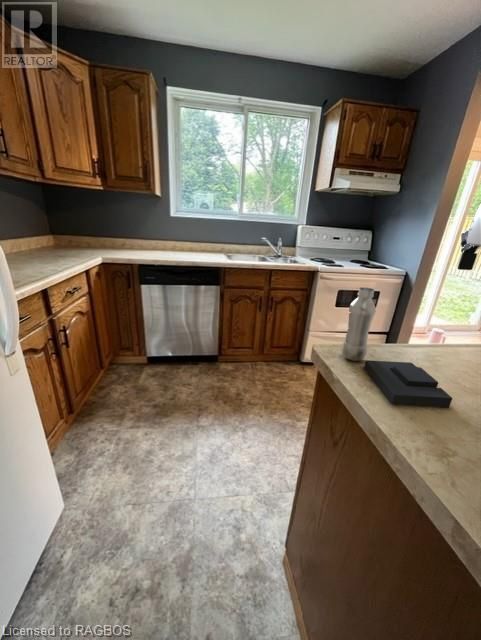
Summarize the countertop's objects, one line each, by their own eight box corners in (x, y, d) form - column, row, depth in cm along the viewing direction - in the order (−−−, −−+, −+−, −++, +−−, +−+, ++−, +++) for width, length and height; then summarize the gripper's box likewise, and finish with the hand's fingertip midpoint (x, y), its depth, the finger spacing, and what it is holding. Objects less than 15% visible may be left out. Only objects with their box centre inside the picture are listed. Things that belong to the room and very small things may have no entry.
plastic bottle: (370, 361, 75) (387, 291, 68) (351, 365, 72) (366, 292, 65) (353, 351, 80) (367, 285, 73) (334, 354, 78) (347, 286, 71)
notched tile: (409, 370, 71) (411, 362, 70) (449, 408, 57) (452, 398, 56) (363, 368, 71) (365, 360, 70) (391, 404, 57) (394, 394, 56)
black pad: (416, 379, 67) (420, 367, 66) (434, 395, 61) (438, 382, 60) (390, 378, 67) (393, 365, 66) (404, 394, 61) (408, 380, 60)
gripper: (576, 186, 47) (535, 282, 53) (492, 195, 64) (468, 268, 70) (533, 184, 47) (496, 280, 53) (460, 193, 64) (438, 266, 70)
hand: (480, 273), depth 61 cm, fingers open, 9 cm apart
